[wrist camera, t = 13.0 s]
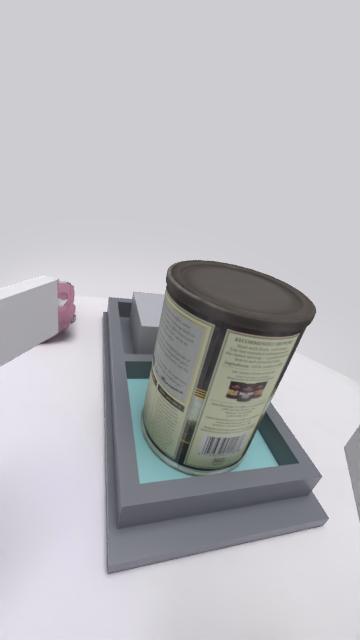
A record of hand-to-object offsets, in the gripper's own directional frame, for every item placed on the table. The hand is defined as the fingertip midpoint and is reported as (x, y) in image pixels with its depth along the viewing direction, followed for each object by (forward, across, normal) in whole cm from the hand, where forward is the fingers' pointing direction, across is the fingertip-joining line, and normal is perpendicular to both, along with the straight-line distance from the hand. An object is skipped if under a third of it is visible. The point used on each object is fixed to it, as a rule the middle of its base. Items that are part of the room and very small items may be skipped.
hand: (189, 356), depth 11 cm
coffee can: (+10, 0, -14) cm, 17 cm away
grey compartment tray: (+15, -3, -15) cm, 21 cm away
